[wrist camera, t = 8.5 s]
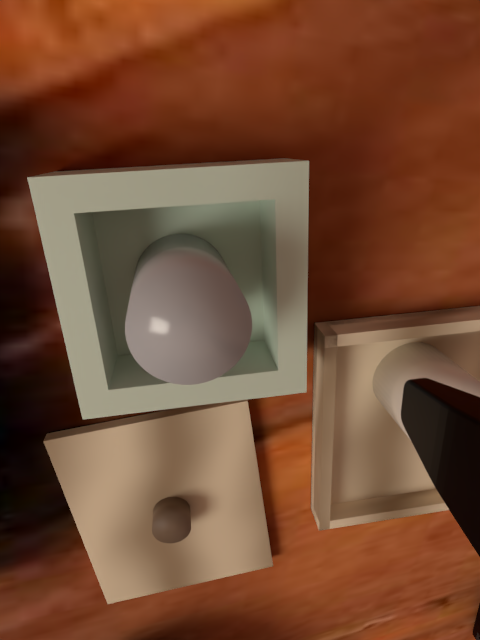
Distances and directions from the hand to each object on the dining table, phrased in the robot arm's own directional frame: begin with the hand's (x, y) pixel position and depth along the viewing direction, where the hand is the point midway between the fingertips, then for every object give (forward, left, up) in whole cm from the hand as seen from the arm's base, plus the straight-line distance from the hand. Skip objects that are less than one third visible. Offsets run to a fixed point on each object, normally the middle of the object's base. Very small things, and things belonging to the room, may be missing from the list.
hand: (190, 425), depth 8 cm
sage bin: (0, 0, -11) cm, 11 cm away
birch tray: (-11, +9, -11) cm, 18 cm away
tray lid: (+2, +13, -11) cm, 18 cm away
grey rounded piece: (0, 0, -11) cm, 11 cm away
